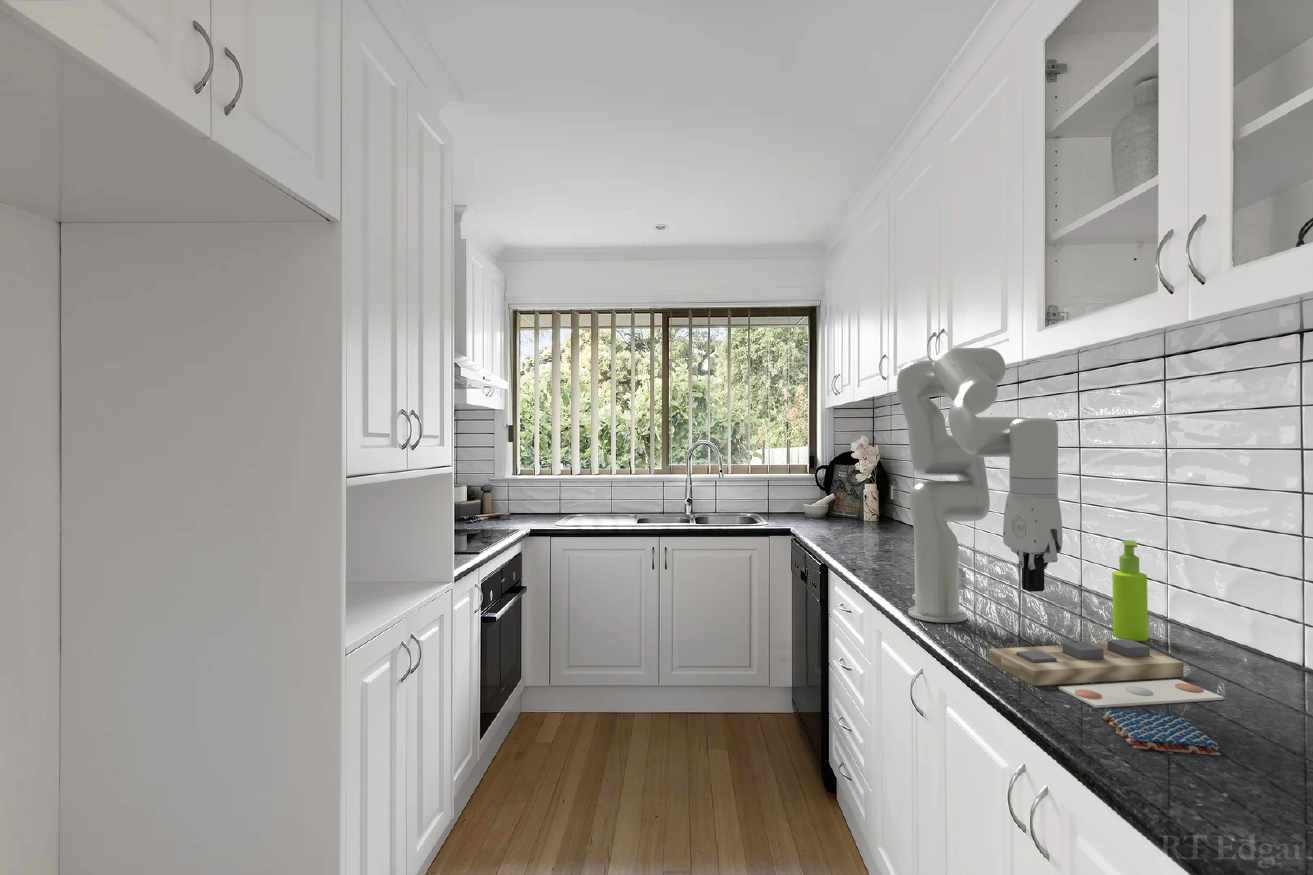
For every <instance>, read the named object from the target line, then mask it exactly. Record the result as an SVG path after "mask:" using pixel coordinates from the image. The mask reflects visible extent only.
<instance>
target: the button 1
mask: <svg viewBox="0 0 1313 875" xmlns="http://www.w3.org/2000/svg"><path fill="white" fill-rule="evenodd" d="M1017 656H1019V657H1021V658H1023V659H1025V660H1027V661H1029V662H1031V663H1046V662H1057V658H1055V657H1053V656H1051V655H1048V654H1046V653H1044V652H1042V651H1039V650H1038V651H1019V652H1017Z"/></svg>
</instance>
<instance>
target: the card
mask: <svg viewBox="0 0 1313 875" xmlns="http://www.w3.org/2000/svg"><path fill="white" fill-rule="evenodd" d="M1058 690H1060V691H1061V692H1063V693H1065V694H1066V695H1067V694H1068V695H1070V696H1071V697H1074V698H1075V699H1078V700H1080V701H1081V702H1083V703H1084V704H1087V705H1089V706H1091V707H1093V708H1095V709H1099V708H1100V709H1101V708H1114V707H1117V708H1118V707H1131V706H1147V705H1149V706H1150V705H1159V704H1160V705H1164V704H1177V703H1178V704H1179V703H1191V702H1192V703H1193V702H1205V701H1206V702H1207V701H1208V702H1209V701H1221V700H1223V701H1224V696H1222V695H1220V694H1216V693H1215V692H1212V691H1209V690H1207V689H1205V688H1203V687H1201V686H1198V685H1195V684H1191V683H1188V682H1185V681H1183V680H1181V679H1177V678H1176V679H1161V680H1160V679H1159V680H1146V681H1145V680H1144V681H1132V682H1131V681H1127V682H1115V683H1112V682H1111V683H1095V684H1082V685H1081V684H1080V685H1079V684H1078V685H1066V686H1065V685H1064V686H1058Z"/></svg>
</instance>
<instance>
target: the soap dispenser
mask: <svg viewBox="0 0 1313 875" xmlns="http://www.w3.org/2000/svg"><path fill="white" fill-rule="evenodd" d="M1122 543H1123V554H1121V555H1119V558H1118V559H1119V561H1118V562H1119V563H1118V564H1119V566H1118V567H1119V570H1117V571H1113V572H1112V575H1111V576H1112V623H1113V624H1112V626H1113V627H1112V628H1113V629H1112V631H1113V636H1114V637H1115V638H1118V639H1120V640H1126V639H1130V640H1133V641H1135V642H1145V641H1148V639H1149V621H1148V620H1149V618H1148V617H1149V615H1148V614H1149V613H1148V610H1149V609H1148V575H1147V574H1145V573H1144V572H1143V573H1142V572H1140V557H1139V556H1137V555H1135V548H1138V543H1137V542H1136V541H1135V540H1126V539H1124V540H1123V539H1122Z"/></svg>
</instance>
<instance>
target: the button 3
mask: <svg viewBox="0 0 1313 875" xmlns="http://www.w3.org/2000/svg"><path fill="white" fill-rule="evenodd" d="M1107 643H1108V651H1110V652H1113V653H1116V654H1118V655H1121V656H1123V657H1126V658H1135V657H1150V650H1151V649H1150V648H1151V647H1150V645H1147V644H1145V643H1140V642H1139V641H1133V640H1130V639H1126V640H1125V639H1109V640H1107Z"/></svg>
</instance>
